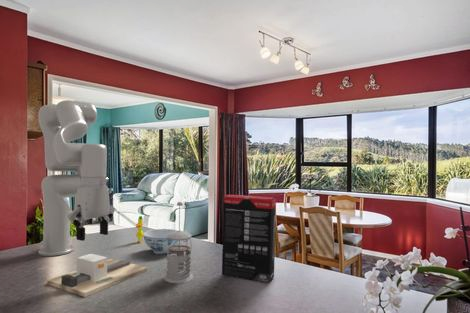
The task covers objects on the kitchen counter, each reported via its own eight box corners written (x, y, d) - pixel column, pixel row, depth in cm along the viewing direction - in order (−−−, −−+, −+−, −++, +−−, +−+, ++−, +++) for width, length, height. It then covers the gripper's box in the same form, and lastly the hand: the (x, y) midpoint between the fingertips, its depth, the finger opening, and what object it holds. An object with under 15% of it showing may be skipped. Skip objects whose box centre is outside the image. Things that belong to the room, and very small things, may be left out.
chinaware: (187, 250, 135) (187, 232, 135) (161, 259, 123) (161, 239, 123) (162, 244, 143) (162, 227, 143) (135, 252, 131) (135, 234, 131)
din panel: (47, 283, 98) (47, 272, 98) (111, 261, 119) (111, 252, 119) (85, 297, 89) (85, 284, 89) (146, 270, 110) (146, 260, 110)
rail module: (76, 276, 101) (77, 257, 101) (90, 271, 105) (90, 253, 105) (94, 281, 97) (95, 262, 97) (108, 276, 101) (108, 257, 101)
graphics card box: (275, 277, 106) (277, 196, 106) (271, 285, 100) (272, 198, 100) (227, 270, 112) (229, 193, 112) (220, 277, 105) (222, 195, 105)
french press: (157, 280, 102) (158, 202, 102) (176, 268, 113) (177, 198, 113) (183, 285, 98) (185, 204, 99) (201, 272, 109) (202, 200, 109)
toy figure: (140, 244, 142) (140, 218, 143) (132, 244, 143) (132, 217, 143) (145, 240, 149) (146, 215, 149) (138, 240, 150) (139, 215, 150)
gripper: (108, 180, 111) (107, 230, 111) (60, 183, 96) (59, 241, 96) (123, 181, 107) (122, 233, 107) (76, 184, 92) (75, 245, 92)
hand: (92, 236), depth 101 cm, fingers open, 7 cm apart
